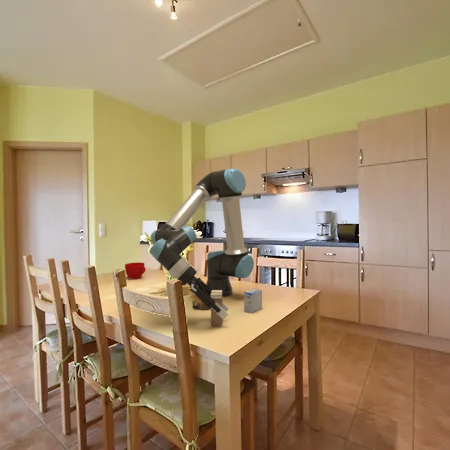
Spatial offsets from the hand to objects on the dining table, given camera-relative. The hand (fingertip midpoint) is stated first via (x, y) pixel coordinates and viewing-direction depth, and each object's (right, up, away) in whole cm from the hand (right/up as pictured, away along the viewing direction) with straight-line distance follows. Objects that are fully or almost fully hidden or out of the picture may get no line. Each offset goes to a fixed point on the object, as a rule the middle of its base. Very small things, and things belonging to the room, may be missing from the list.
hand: (226, 313), depth 105 cm
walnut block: (-4, -4, 0) cm, 5 cm away
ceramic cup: (-61, -3, +83) cm, 104 cm away
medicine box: (+12, -3, +15) cm, 19 cm away
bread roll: (-10, -4, +20) cm, 23 cm away
